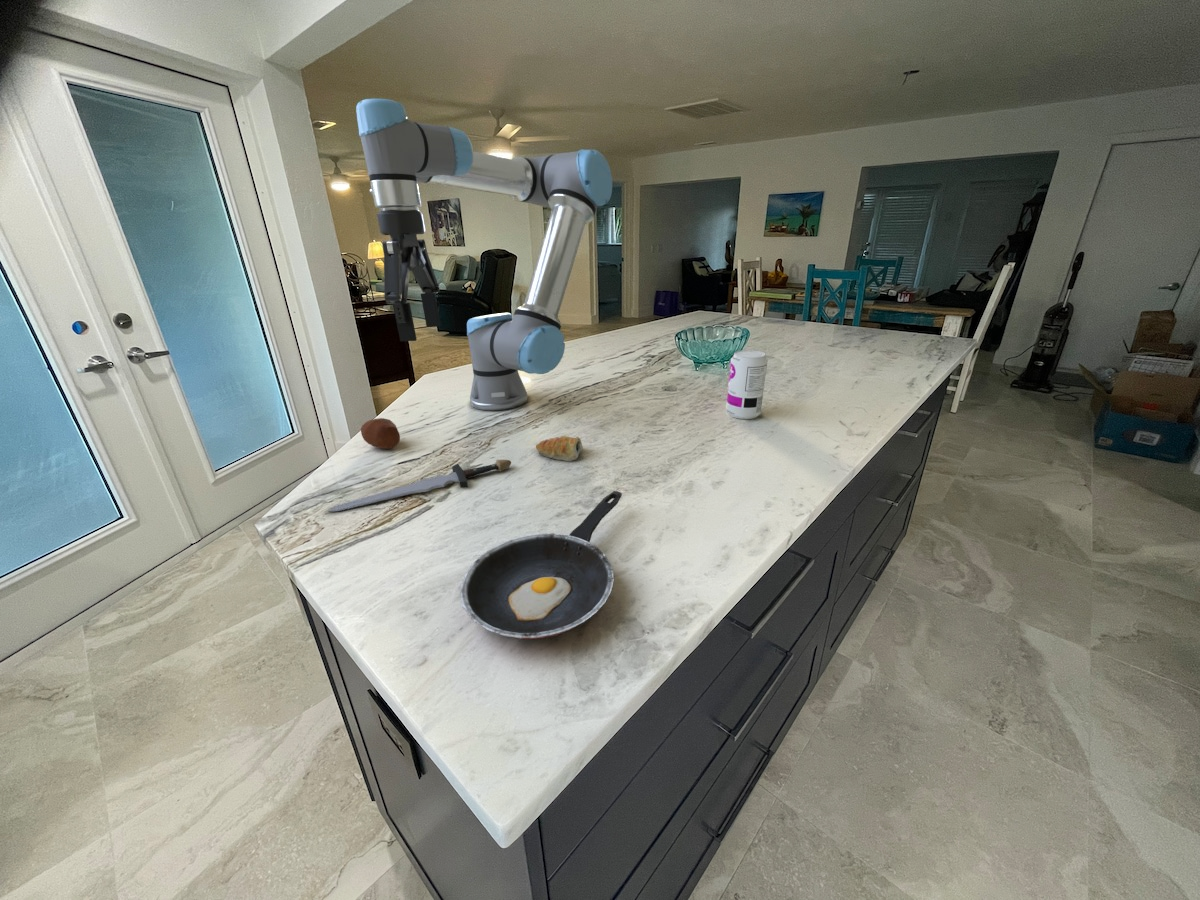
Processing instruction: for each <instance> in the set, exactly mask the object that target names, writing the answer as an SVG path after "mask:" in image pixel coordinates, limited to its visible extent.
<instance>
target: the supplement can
mask: <svg viewBox="0 0 1200 900" xmlns="http://www.w3.org/2000/svg"><path fill="white" fill-rule="evenodd" d="M768 361H769V360H768V359H767V356H766V353H765V352H763V351H761V350H753V349H752V350H751V349H742V350H736V351H735V352H734V353H733V355H732V357H731V359H730V365H729V373H728V374H729V376H728V386H727V395H726V404H725V411H726V414H728V415H729V416H730V417H732V418H735V419H740V420H751V419H756V418H757V417H758V416H760V415H761V413H762V407H763V400H764V399H763V398H764V393H765V392H764V391H765V385H766V377H767V369H768Z"/></svg>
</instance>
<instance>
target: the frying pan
mask: <svg viewBox="0 0 1200 900" xmlns="http://www.w3.org/2000/svg"><path fill="white" fill-rule="evenodd" d="M622 495H623V493H622V492H621V491H617V490H613V491H612V492H610V493H608V494H607V495H606V496H605V497H603V498H602V499H601V500H600V502H598V504H597V505H596V506H595V507H594V508H593V510H591V512H590V513H589V514H587V516H586V517H585V518H584V519H583V521H581V523H580V524H579V525H578V526H576V527H575V528H574V529H573V530H572V531H571V532H570V533H569V534H563V533H554V532H550V533H549V532H545V533H544V532H543V533H532V534H527V535H521V536H518V537H514V538H511V539H508V540H506V541H504V542H501V543H499V544H497V545H495V546H493V547H491V548H489V550H486V552H484V553H482V554H481V555H480V556H479V557H478V558H477V559H476V560H475V561H474V562H473V563H471V565H470V566H469V568H468V569H467V571H466V572H465V574H464V576H463V579H462V581H461V584H460V594H459V595H460V601H461V605H462V607H463V609H464V610H465V612H466V614H467V616H468V617H469V618H470V619H471V620H472V621H473V622H475V624H476V625H478V626H480V627H482V628H484V629H486V630H487V631H489V632H491V633H494V634H497V635H500V636H503V637H508V638H514V639H521V640H539V639H545V638H546V639H547V638H551V637H554V636H555V637H556V636H558V635H561V634H564V633H567V632H568V631H570V630H572V629H574V628H576V627H578V626H580V625H581V624H583V623H585V622H586V621H587V620H588V619H591V617H593V616H595V614H597V612H598V611H600V609H601V608H602V607H603V605H604V604H605V603H606V601H607V600H608V598H609V596H610V595H611V593H612V589H613V585H614V580H615V579H614V569H613V566H612V563H611V561H610V559H609V558H608V557H607V555H606V554H605V553H604V552H603V551H602V550H601V549H600V548H599V547H598V546H596V545H595V544H593V543H592V542H591V539H592V536H593V534H594V531H596V529H597V527H598V526H599V525H600V523H601V521H602V520H603V519H604V518H605V517H606V516H607V515H608V514H609V513H611V511H612V510H613V509H614V508H615V507H616V506H617V505H618V503H619V502H620V501H621V500H620V499H621V498H622Z"/></svg>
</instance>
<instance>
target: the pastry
mask: <svg viewBox="0 0 1200 900" xmlns="http://www.w3.org/2000/svg"><path fill="white" fill-rule="evenodd" d="M535 449H536V452H537V453H538V454H539V455H541V456H543V457H544V458H549V459H553V460H557V461H565V462H572V461H576V460H577V459H578V457H579V455H580V452H582V450H583V443H582V440H581V438H580V437H579V436H576V437H572V436H565V435H562V436H560V437H559V436H558V437H557V436H556V437H550V438H548V439H544V440H541V441H540V442H538V443H537V444H535Z"/></svg>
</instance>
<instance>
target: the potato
mask: <svg viewBox="0 0 1200 900" xmlns="http://www.w3.org/2000/svg"><path fill="white" fill-rule="evenodd" d="M360 434H361V438H362V439H363V441H364V442H366V443H367V444H369V445H370V446H372V447H375V448H378V449H381V450H389V449H392V448H394V447H396V446H398V444H399V443H400V441H401V435H400V432H399V430H398V427H397V425H396V424H395V423H394V422H393V421H392V420H391V419H388V418H383V417H378V418H373V419H370V420H367V421H366V422H363V424H362V425H361V428H360Z"/></svg>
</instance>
